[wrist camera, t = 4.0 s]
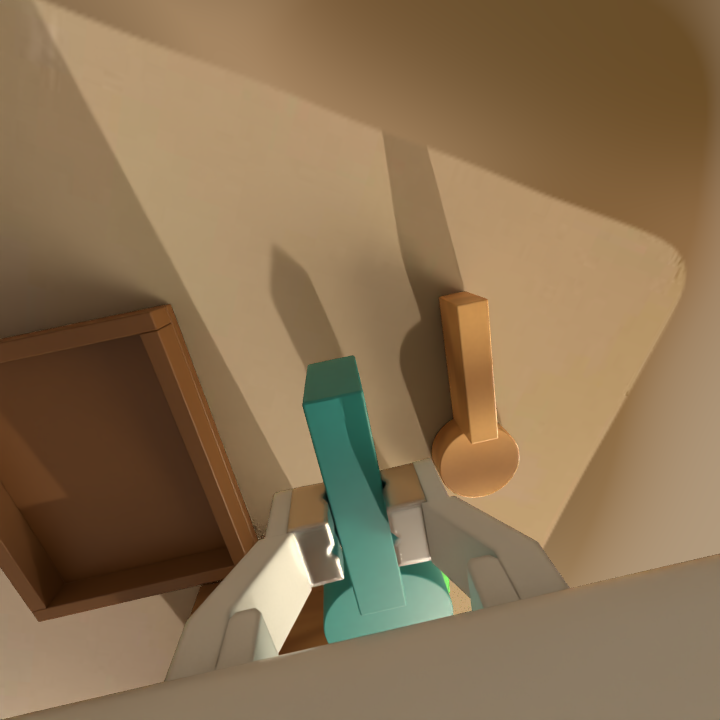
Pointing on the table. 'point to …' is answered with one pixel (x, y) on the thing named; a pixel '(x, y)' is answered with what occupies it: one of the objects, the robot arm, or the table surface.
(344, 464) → the teal spoon
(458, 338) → the beech spoon
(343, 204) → the table surface
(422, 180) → the table surface
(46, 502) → the walnut tray
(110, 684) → the table surface
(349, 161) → the table surface
